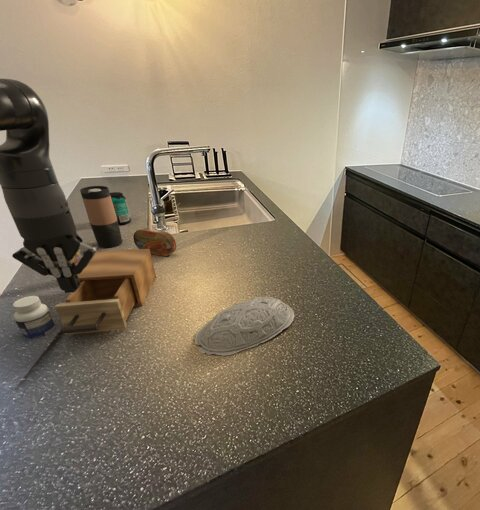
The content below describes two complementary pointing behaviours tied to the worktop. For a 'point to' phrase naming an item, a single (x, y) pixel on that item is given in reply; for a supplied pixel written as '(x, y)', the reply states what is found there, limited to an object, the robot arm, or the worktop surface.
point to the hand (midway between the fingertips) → (72, 290)
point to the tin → (155, 241)
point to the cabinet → (123, 269)
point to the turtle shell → (244, 326)
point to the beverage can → (120, 208)
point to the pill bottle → (33, 317)
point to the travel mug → (102, 216)
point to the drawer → (97, 306)
